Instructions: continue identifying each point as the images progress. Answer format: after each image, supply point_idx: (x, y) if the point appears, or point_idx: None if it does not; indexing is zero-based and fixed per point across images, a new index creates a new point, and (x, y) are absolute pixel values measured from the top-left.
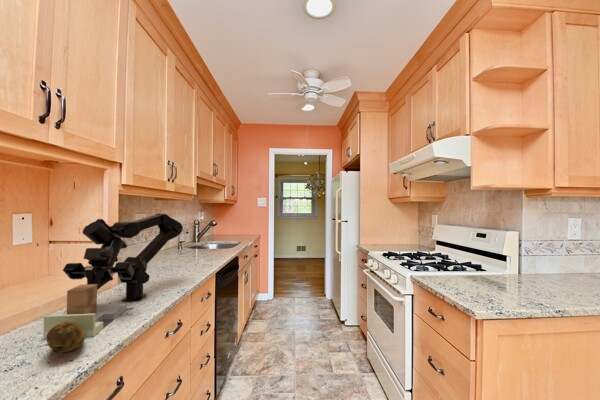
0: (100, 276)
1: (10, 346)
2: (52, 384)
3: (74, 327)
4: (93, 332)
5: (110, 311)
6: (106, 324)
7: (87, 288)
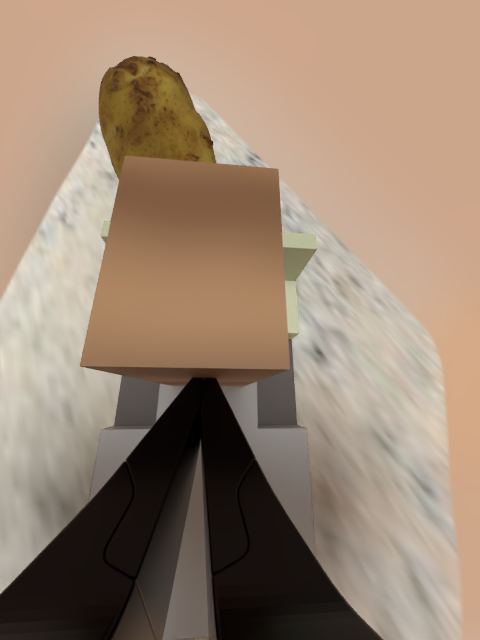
0: (3, 624)
1: (345, 256)
2: None
3: (104, 75)
4: None
5: None
6: None
7: (127, 205)
